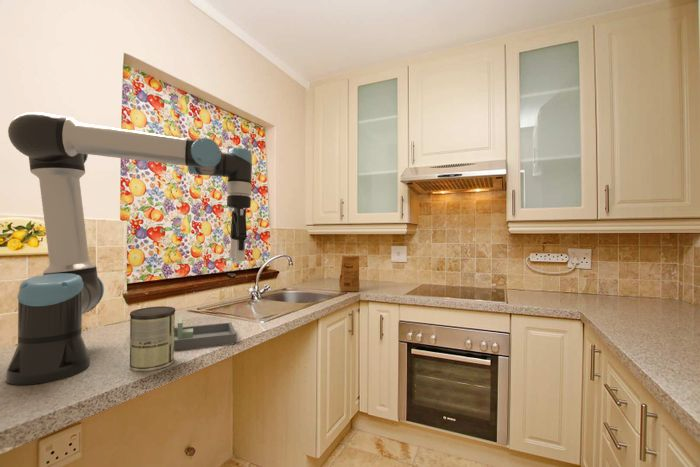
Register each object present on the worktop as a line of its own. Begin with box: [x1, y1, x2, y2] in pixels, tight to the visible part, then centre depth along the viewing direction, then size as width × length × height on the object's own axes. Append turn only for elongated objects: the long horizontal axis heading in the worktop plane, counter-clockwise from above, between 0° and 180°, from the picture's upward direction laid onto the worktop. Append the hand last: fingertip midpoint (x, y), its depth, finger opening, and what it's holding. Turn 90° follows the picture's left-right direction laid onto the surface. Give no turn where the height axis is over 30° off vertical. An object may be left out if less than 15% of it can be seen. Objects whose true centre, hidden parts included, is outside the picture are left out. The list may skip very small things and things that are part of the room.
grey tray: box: [174, 322, 237, 352], centre depth 107 cm, size 18×15×3 cm
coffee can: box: [129, 305, 176, 372], centre depth 87 cm, size 10×10×14 cm
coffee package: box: [339, 255, 360, 292], centre depth 206 cm, size 10×12×22 cm
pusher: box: [177, 313, 193, 339], centre depth 105 cm, size 4×12×7 cm, turn 26°
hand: (237, 259), depth 111 cm, fingers open, 13 cm apart
